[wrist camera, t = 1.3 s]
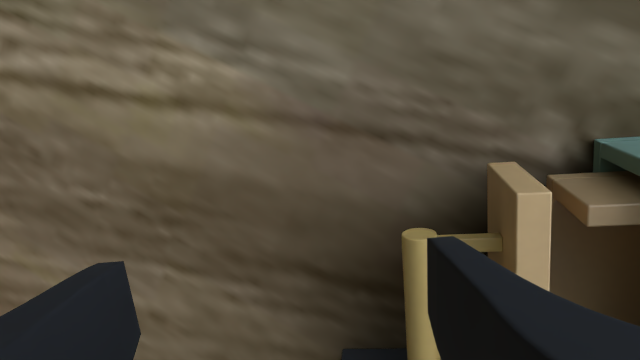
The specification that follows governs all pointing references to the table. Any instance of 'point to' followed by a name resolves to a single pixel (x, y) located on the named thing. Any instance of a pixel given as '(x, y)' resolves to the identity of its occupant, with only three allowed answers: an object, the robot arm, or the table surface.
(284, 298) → the table surface
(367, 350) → the block
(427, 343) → the drawer
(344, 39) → the table surface
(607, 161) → the cabinet
